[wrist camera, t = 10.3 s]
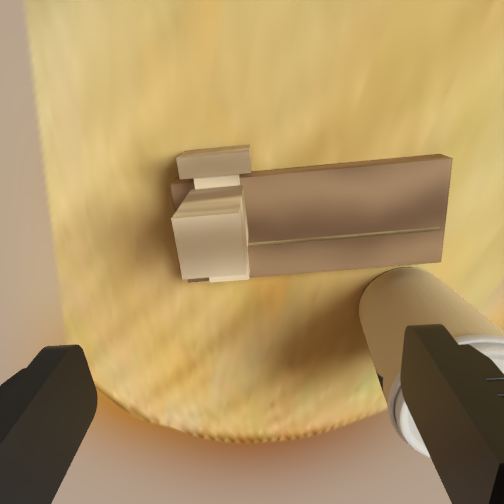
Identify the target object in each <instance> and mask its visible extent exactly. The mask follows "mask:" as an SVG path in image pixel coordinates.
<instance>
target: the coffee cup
mask: <svg viewBox="0 0 504 504" xmlns="http://www.w3.org/2000/svg"><path fill="white" fill-rule="evenodd" d="M359 318H360V322H361V325H362V329H363V332H364V335H365V338H366V341H367V345H368V348H369V351H370V354H371V357H372V360H373V363H374V366H375V369H376V372H377V375H378V378H379V381H380V385H381V388H382V390H383V393H384V396H385V399H386V402H387V405H388V412H389V416H390V420H391V423H392V425H393V427H394V429H395V430H396V432H397V433H398V435H399V436H400V437H401V438H402V439H403V440H404V441H405V442H406V443H408V444H409V445H410V446H411V447H412V448H413V449H415V450H416V451H417V452H419V453H420V454H422V455H425V456H427V457H429V458H431V457H430V455H429V453H428V451H427V448H426V446H425V444H424V442H423V440H422V438H421V435H420V433H419V431H418V429H417V427H416V425H415V422H414V420H413V418H412V416H411V414H410V412H409V410H408V407H407V405H406V403H405V400H404V397H403V394H402V389H401V382H400V373H401V363H402V353H403V343H404V333H405V329H406V327H407V326H409V325H426V324H442V325H443V326H445V328H446V329H447V330H448V331H449V333H450V334H451V335H452V337H453V338H454V339H455V341H456V342H457V343H458V344H459V345H461V344H469V345H471V346H472V347H474V348H475V349H477V350H478V351H480V352H481V353H483V354H484V355H486V356H487V357H489V358H490V359H491V360H492V361H493V362H494V363H495V364H496V365H497V367H498V368H499V369H500V370H501V371H502V373H503V374H504V331H502V330H501V329H500V328H499V327H498V326H496V325H495V324H494V323H493V322H492V321H490V320H489V319H488V318H487V317H486V316H484V315H483V314H482V313H481V312H480V311H478V310H477V309H476V308H475V307H474V306H472V305H471V304H470V303H469V302H468V301H466V300H465V299H464V298H463V297H461V296H460V295H459V294H458V293H457V292H455V291H454V290H453V289H452V288H450V287H449V286H448V285H447V284H446V283H444V282H443V281H442V280H440V279H439V278H438V277H436V276H435V275H434V274H432V273H430V272H428V271H426V270H423V269H420V268H413V267H402V268H397V269H393V270H390V271H388V272H386V273H384V274H382V275H380V276H379V277H377V278H376V279H375V280H373V281H372V282H371V283H370V284H369V285H368V287H367V288H366V289H365V291H364V293H363V295H362V297H361V300H360V303H359Z"/></svg>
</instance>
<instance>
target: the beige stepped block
mask: <svg viewBox="0 0 504 504" xmlns="http://www.w3.org/2000/svg"><path fill="white" fill-rule="evenodd" d="M176 161H177V167H178V173H179V179H191V178H194V185H195V189H193V190H190V192H189V193H188V195H187V196H186V198H185V199H184V201H183V202H182V204H181V205H180V206H179V208H178V209H177V211H176V212H175V214H174V215H173V217H172V218H171V221H172V226H173V231H174V237H175V242H176V247H177V253H178V258H179V263H180V269H181V274H182V279H196V278H208V277H209V281H210V282H223V281H236V280H248V279H249V273H250V269H249V260H248V225H247V216H246V206H245V197H244V187H243V185H240V177H239V174H244V173H251V165H252V163H251V152H250V145H241V146H231V147H220V148H210V149H199V150H189V151H184V152H183V153H182V154H181V155H180V156H178V157H177V158H176Z"/></svg>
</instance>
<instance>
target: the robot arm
mask: <svg viewBox="0 0 504 504" xmlns="http://www.w3.org/2000/svg"><path fill="white" fill-rule="evenodd" d="M400 382H401V389H402V394H403V397H404V400H405V403H406V405H407V407H408V410H409V412H410V414H411V416H412V418H413V420H414V422H415V425H416V427H417V429H418V431H419V433H420V435H421V438H422V440H423V442H424V444H425V446H426V448H427V451H428V453H429V455H430V457H431V459H432V461H433V463H434V465H435V468H436V470H437V472H438V474H439V476H440V479H441V481H442V483H443V485H444V487H445V489H446V492H447V493H448V496H449V498H450V500H451V502H452V504H504V374H503V373H502V371H501V370H500V369H499V368H498V367H497V365H496V364H495V363H494V362H493V361H492V360H491V359H490V358H489V357H487V356H486V355H484V354H483V353H481V352H480V351H478V350H477V349H475V348H474V347H472V346H471V345H469V344H461V345H459V344H458V343H457V342H456V341H455V339H454V338H453V337H452V335H451V334H450V333H449V331H448V330H447V329H446V328H445V326H443V325H442V324H426V325H409V326H407V327H406V329H405V333H404V343H403V353H402V363H401V373H400ZM96 408H97V391H96V388H95V385H94V382H93V379H92V376H91V373H90V370H89V367H88V363H87V360H86V357H85V354H84V352H83V349H82V348H81V347H80V346H79V345H60V346H47V347H44V348H43V349H42V350H41V351H40V352H39V353H38V355H37V356H36V357H35V358H34V359H33V361H32V362H31V363H30V364H29V366H28V367H27V368H24V369H22V370H20V371H19V372H18V373H16V374H15V375H14V376H12V377H11V378H10V379H8V380H7V381H6V382H4V383H3V384H1V386H0V504H51V503H52V501H53V499H54V497H55V495H56V493H57V491H58V488H59V487H60V484H61V482H62V481H63V479H64V477H65V475H66V472H67V470H68V468H69V466H70V464H71V462H72V460H73V458H74V456H75V454H76V452H77V450H78V448H79V446H80V444H81V442H82V440H83V438H84V436H85V434H86V432H87V430H88V428H89V426H90V424H91V422H92V420H93V418H94V415H95V412H96Z"/></svg>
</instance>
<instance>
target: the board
mask: <svg viewBox="0 0 504 504" xmlns="http://www.w3.org/2000/svg"><path fill="white" fill-rule="evenodd" d="M452 160H453V158H450V157H447V156H444V155H441V154H435V155H424V156H413V157H402V158H392V159H381V160H370V161H360V162H349V163H338V164H327V165H317V166H306V167H295V168H284V169H274V170H263V171H252V172H251V173H244V174H239V177H240V185H243V187H244V197H245V206H246V216H247V225H248V260H249V269H250V273H249V277H262V276H274V275H287V274H300V273H312V272H325V271H337V270H350V269H362V268H375V267H388V266H400V265H413V264H425V263H438V262H441V258H442V249H443V240H444V231H445V222H446V213H447V204H448V195H449V187H450V178H451V169H452ZM170 186H171V192H172V197H173V203H174V208H175V212H176V211H177V209H178V208H179V206H180V205H181V204H182V202H183V201H184V199H185V198H186V196H187V195H188V193H189V192H190V190H193V189H195V185H194V178H191V179H179V178H177V179H175V180H174V181H173V182H172V183H171V184H170ZM199 281H209V277H208V278H196V279H188V282H199Z"/></svg>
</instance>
